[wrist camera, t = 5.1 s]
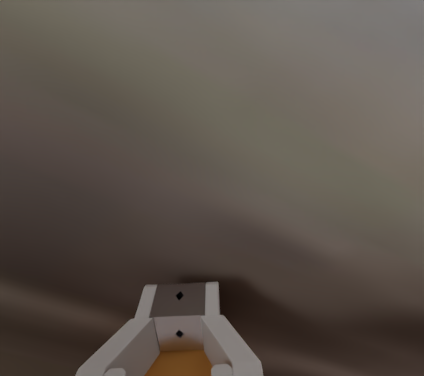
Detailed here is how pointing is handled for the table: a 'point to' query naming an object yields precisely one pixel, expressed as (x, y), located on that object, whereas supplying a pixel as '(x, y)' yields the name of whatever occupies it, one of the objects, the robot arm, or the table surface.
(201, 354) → the ball
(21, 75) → the table surface
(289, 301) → the table surface
